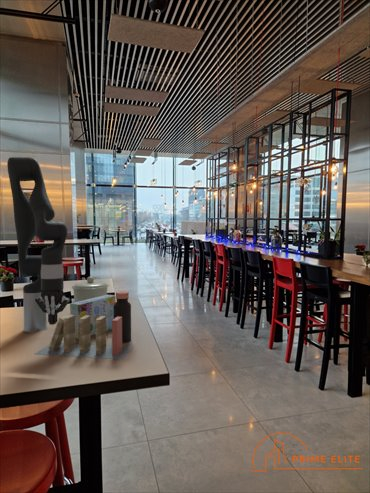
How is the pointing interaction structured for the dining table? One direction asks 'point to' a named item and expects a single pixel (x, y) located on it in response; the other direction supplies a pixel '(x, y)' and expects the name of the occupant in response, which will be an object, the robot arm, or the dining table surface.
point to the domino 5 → (116, 335)
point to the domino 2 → (69, 333)
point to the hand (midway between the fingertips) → (52, 324)
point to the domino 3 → (85, 333)
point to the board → (90, 353)
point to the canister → (89, 289)
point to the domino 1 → (57, 335)
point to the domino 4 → (100, 334)
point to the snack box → (94, 311)
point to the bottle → (123, 314)
